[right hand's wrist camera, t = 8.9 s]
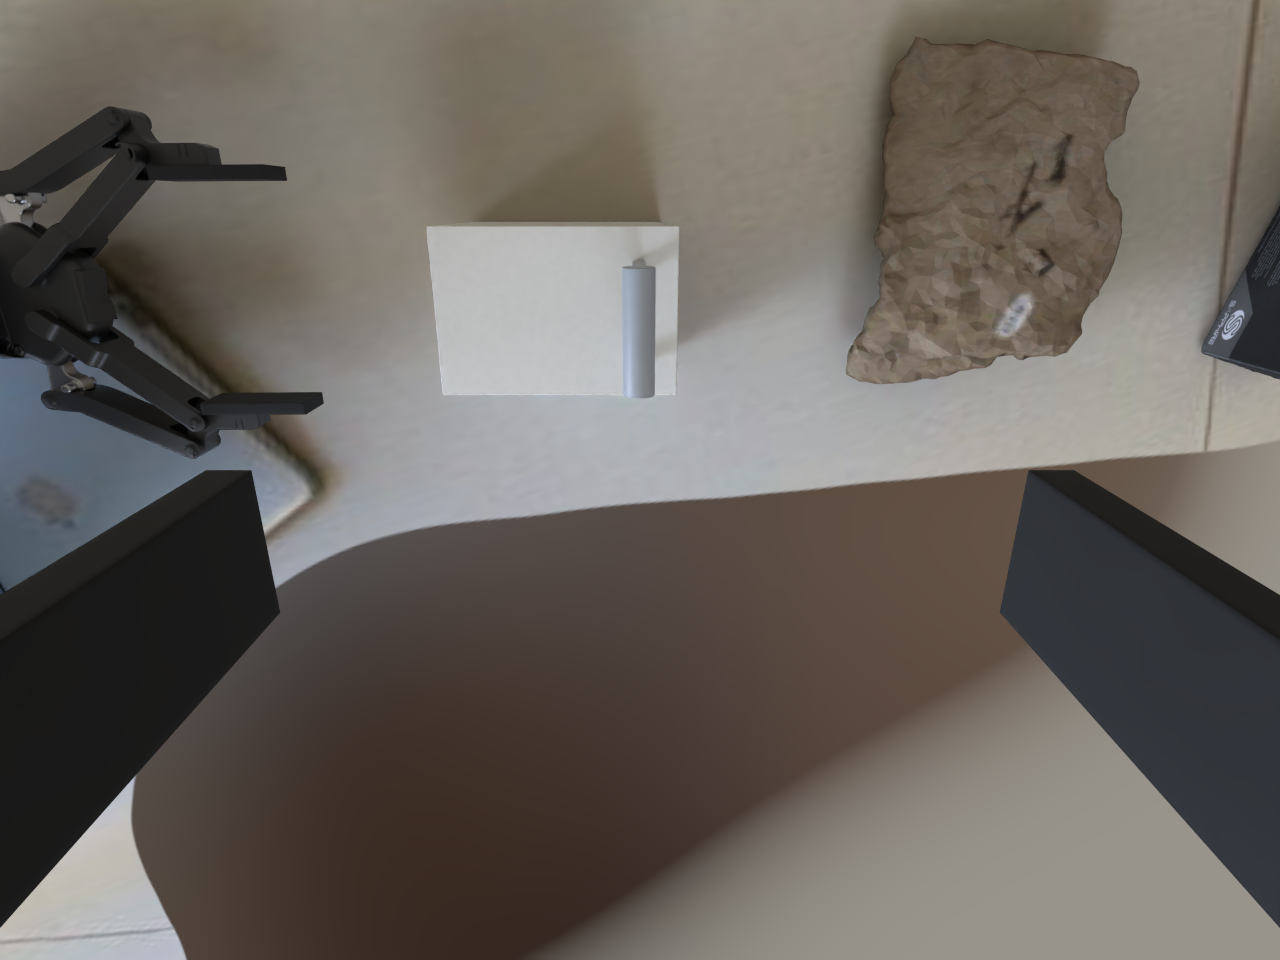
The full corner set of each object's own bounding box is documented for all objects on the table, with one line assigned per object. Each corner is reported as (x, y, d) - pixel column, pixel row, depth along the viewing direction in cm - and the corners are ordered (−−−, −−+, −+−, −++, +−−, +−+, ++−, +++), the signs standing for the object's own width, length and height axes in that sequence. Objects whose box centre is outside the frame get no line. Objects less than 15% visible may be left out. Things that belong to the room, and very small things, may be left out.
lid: (678, 225, 39) (688, 230, 31) (675, 391, 42) (684, 431, 34) (430, 225, 39) (380, 229, 31) (446, 391, 42) (404, 431, 34)
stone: (1063, 400, 50) (1097, 407, 44) (842, 379, 53) (847, 383, 47) (1130, 68, 46) (1177, 27, 40) (886, 65, 49) (898, 26, 43)
